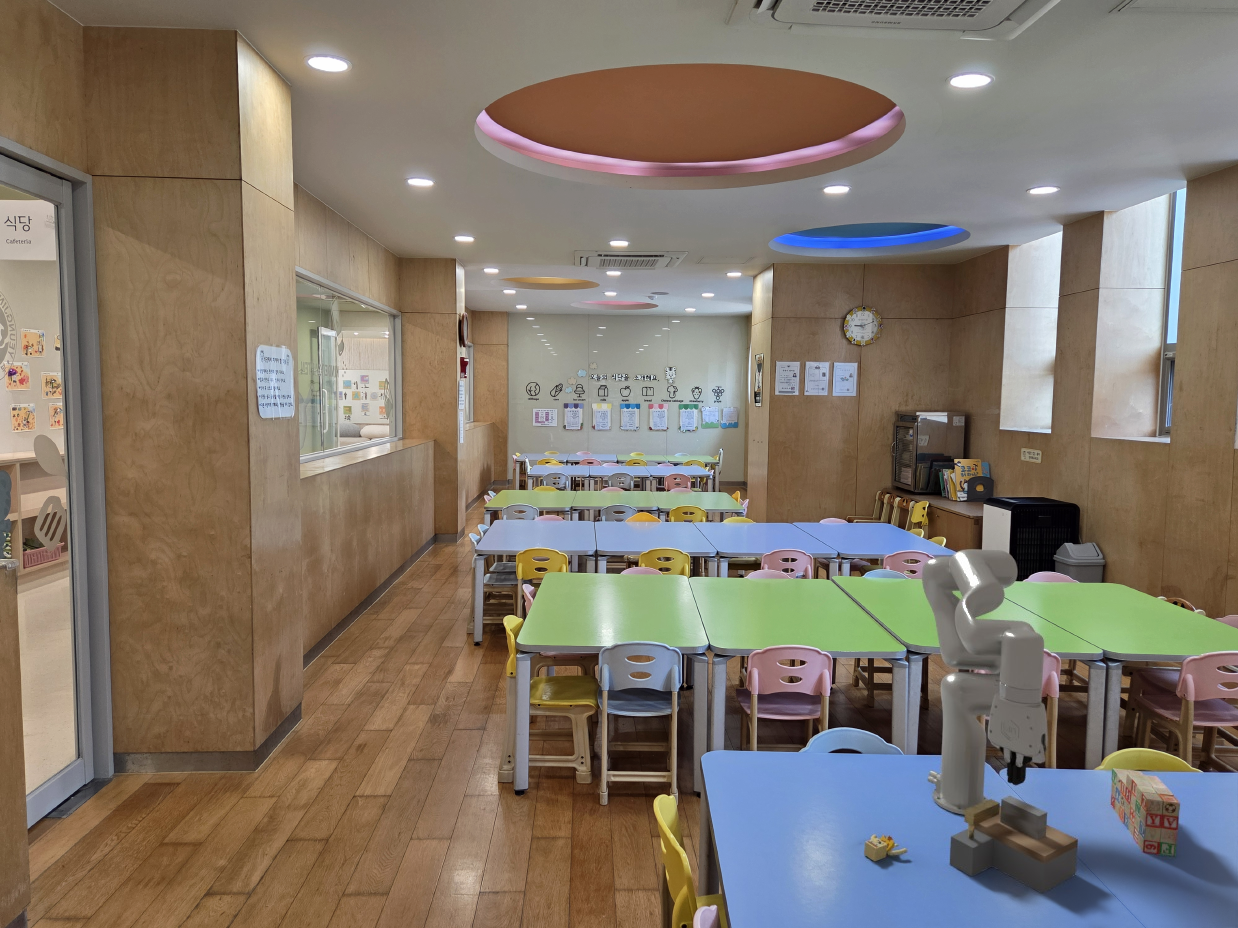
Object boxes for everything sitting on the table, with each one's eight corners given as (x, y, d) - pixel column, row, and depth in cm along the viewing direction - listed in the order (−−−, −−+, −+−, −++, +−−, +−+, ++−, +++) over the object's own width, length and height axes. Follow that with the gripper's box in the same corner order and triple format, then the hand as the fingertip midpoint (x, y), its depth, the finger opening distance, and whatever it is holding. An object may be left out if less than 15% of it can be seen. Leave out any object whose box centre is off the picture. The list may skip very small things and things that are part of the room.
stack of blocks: (1109, 804, 189) (1112, 754, 188) (1139, 808, 187) (1142, 758, 186) (1142, 853, 168) (1146, 797, 167) (1176, 858, 166) (1180, 801, 166)
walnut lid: (969, 825, 166) (971, 796, 166) (1002, 811, 173) (1004, 782, 172) (1044, 863, 153) (1046, 831, 152) (1077, 846, 159) (1079, 815, 159)
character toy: (909, 841, 165) (884, 852, 161) (909, 856, 165) (884, 867, 161) (878, 824, 172) (854, 834, 167) (878, 838, 172) (853, 848, 168)
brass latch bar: (963, 835, 162) (964, 809, 162) (989, 823, 167) (990, 798, 166) (972, 839, 160) (973, 813, 160) (998, 827, 165) (999, 802, 165)
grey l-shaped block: (947, 862, 163) (948, 834, 163) (1001, 837, 173) (1002, 811, 173) (1021, 904, 150) (1023, 874, 149) (1075, 874, 160) (1077, 846, 159)
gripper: (974, 684, 161) (970, 772, 162) (1047, 708, 148) (1042, 802, 149) (996, 678, 165) (992, 764, 166) (1068, 701, 152) (1063, 793, 153)
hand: (1015, 782), depth 158 cm, fingers closed
